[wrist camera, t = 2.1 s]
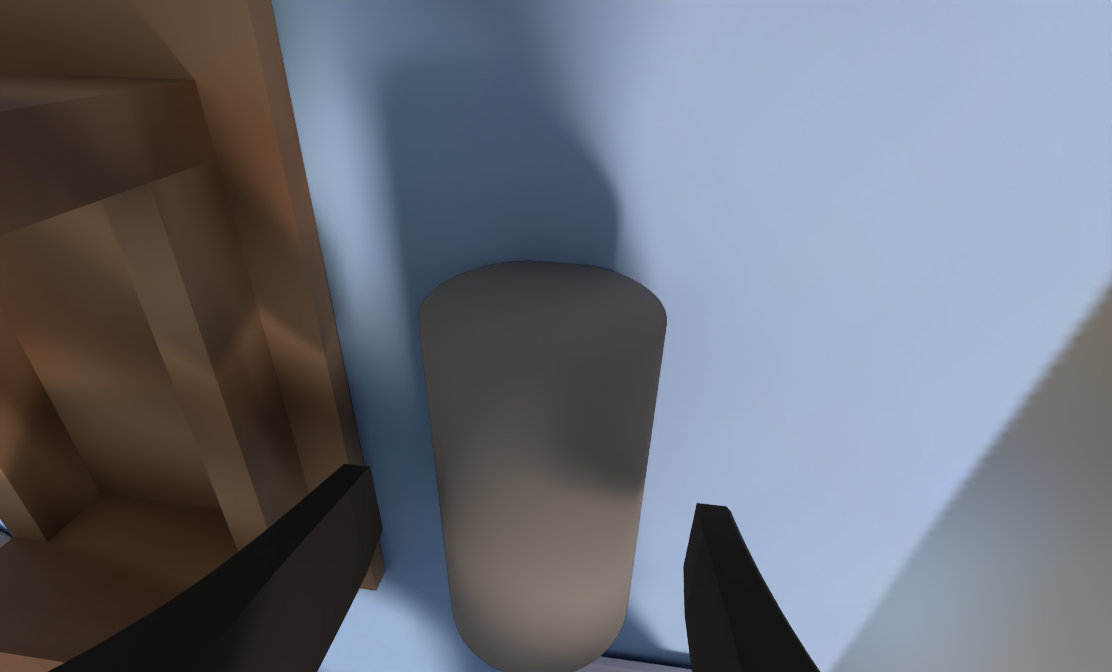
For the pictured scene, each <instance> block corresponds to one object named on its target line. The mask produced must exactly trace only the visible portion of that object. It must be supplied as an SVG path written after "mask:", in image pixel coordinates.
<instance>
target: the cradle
mask: <svg viewBox="0 0 1112 672" xmlns="http://www.w3.org/2000/svg"><path fill="white" fill-rule="evenodd" d="M343 464H351V465H360V466H364V463H363V458H362V453H361V448H360V443H359V438H358V433H357V428H356V423H355V418H354V413H353V408H352V403H351V398H350V393H349V388H348V383H347V378H346V373H345V368H344V363H343V358H342V353H341V348H340V343H339V338H338V333H337V328H336V323H335V318H334V313H333V308H332V303H331V298H330V293H329V289H328V284H327V279H326V274H325V269H324V264H323V259H322V254H321V249H320V244H319V239H318V234H317V229H316V224H315V219H314V214H313V209H312V204H311V199H310V194H309V189H308V184H307V179H306V174H305V169H304V164H303V159H302V154H301V149H300V144H299V139H298V134H297V129H296V124H295V119H294V114H293V109H292V104H291V99H290V94H289V89H288V85H287V80H286V75H285V70H284V65H283V60H282V55H281V50H280V45H279V40H278V35H277V30H276V25H275V20H274V15H273V10H272V5H271V0H0V519H1V521H2V522H3V524H4V525H5V526H6V528H7V529H8V531H9V532H10V534H11V535H12V537H13V538H11V539H10V540H9V541H8V542H7V543H5V544H4V545H3V546H2V547H1V548H0V672H48V671H50V670H52V669H53V668H55V667H57V666H59V665H61V664H63V663H65V662H67V661H69V660H70V659H72V658H74V657H76V656H78V655H80V654H81V653H83V652H85V651H87V650H89V649H91V648H92V647H94V646H96V645H98V644H99V643H101V642H103V641H105V640H106V639H108V638H110V637H111V636H113V635H115V634H116V633H118V632H120V631H121V630H123V629H125V628H126V627H128V626H130V625H131V624H133V623H135V622H136V621H138V620H140V619H141V618H143V617H145V616H146V615H148V614H150V613H151V612H153V611H155V610H156V609H158V608H159V607H161V606H162V605H164V604H165V603H167V602H168V601H170V600H171V599H173V598H174V597H176V596H177V595H179V594H181V593H182V592H184V591H185V590H187V589H188V588H190V587H191V586H192V585H194V584H195V583H197V582H198V581H200V580H201V579H202V578H204V577H205V576H207V575H208V574H209V573H211V572H212V571H214V570H215V569H216V568H218V567H219V566H220V565H222V564H223V563H224V562H225V561H227V560H228V559H229V558H231V557H232V556H233V555H235V554H236V553H237V552H239V551H240V550H241V549H242V548H244V547H245V546H246V545H248V544H249V543H250V542H252V541H253V540H254V539H255V538H257V537H258V536H259V535H260V534H262V533H263V532H264V531H265V530H266V529H268V528H269V527H270V526H271V525H272V524H274V523H275V522H276V521H277V520H278V519H280V518H281V517H282V516H283V515H284V514H286V513H287V512H288V511H289V510H290V509H292V508H293V507H294V506H295V505H296V504H298V503H299V502H300V501H301V500H302V499H303V498H305V497H306V496H307V495H308V494H309V493H310V492H311V491H313V490H314V489H315V488H316V487H317V486H318V485H320V484H321V483H322V482H323V481H324V480H325V479H327V478H328V477H329V476H330V475H331V474H332V473H334V472H335V471H336V470H337V469H339V468H340V467H341V466H342V465H343ZM384 573H385V567H384V562H383V557H382V552H381V547H380V542H379V541H378V544H377V547H376V550H375V553H374V555H373V558H372V561H371V563H370V566H369V569H368V571H367V574H366V576H365V578H364V580H363V582H362V584H361V586H360V588H361V589H368V590H377V588H378V586H379V584H380V582H381V579H382V577H383V575H384Z"/></svg>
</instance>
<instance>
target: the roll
mask: <svg viewBox="0 0 1112 672" xmlns="http://www.w3.org/2000/svg"><path fill="white" fill-rule="evenodd" d="M418 322H419V331H420V340H421V348H422V357H423V366H424V374H425V383H426V392H427V400H428V409H429V418H430V426H431V435H432V443H433V452H434V461H435V469H436V478H437V487H438V495H439V504H440V513H441V521H442V530H443V539H444V547H445V556H446V565H447V573H448V582H449V591H450V599H451V608H452V613H453V618H454V621H455V624H456V627H457V629H458V631H459V633H460V635H461V637H462V639H463V640H464V642H465V643H466V644H467V646H468V647H469V648H470V649H471V650H472V651H473V652H474V653H475V654H476V655H477V656H478V657H479V658H480V659H482V660H483V661H484V662H486V663H487V664H489V665H490V666H492V667H494V668H496V669H498V670H500V671H503V672H575V671H578V670H580V669H582V668H583V667H585V666H587V665H589V664H590V663H592V662H593V661H595V660H596V659H598V658H599V657H600V656H601V655H602V654H603V653H604V652H605V651H606V650H607V649H608V648H609V647H610V646H611V644H612V643H613V642H614V641H615V639H616V637H617V636H618V634H619V632H620V631H621V628H622V626H623V623H624V621H625V617H626V612H627V607H628V600H629V593H630V586H631V578H632V571H633V564H634V557H635V549H636V542H637V535H638V528H639V521H640V513H641V506H642V499H643V492H644V484H645V477H646V470H647V463H648V456H649V448H650V441H651V434H652V427H653V419H654V412H655V405H656V398H657V391H658V383H659V376H660V369H661V362H662V354H663V347H664V340H665V333H666V326H667V316H666V312H665V309H664V307H663V305H662V303H661V302H660V300H659V299H658V298H657V297H656V296H655V295H654V294H653V293H652V292H651V291H650V290H649V289H647V288H646V287H644V286H643V285H641V284H640V283H638V282H636V281H634V280H633V279H631V278H628V277H626V276H624V275H621V274H619V273H616V272H613V271H610V270H607V269H603V268H599V267H595V266H590V265H582V264H569V263H555V262H541V261H516V262H508V263H501V264H495V265H490V266H485V267H481V268H477V269H474V270H471V271H468V272H465V273H462V274H460V275H457V276H455V277H453V278H451V279H449V280H447V281H445V282H444V283H442V284H441V285H439V286H438V287H436V288H435V289H434V290H433V291H432V292H430V294H429V295H428V296H427V297H426V298H425V299H424V301H423V303H422V305H421V307H420V310H419V314H418Z"/></svg>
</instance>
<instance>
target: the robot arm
mask: <svg viewBox="0 0 1112 672" xmlns="http://www.w3.org/2000/svg"><path fill="white" fill-rule="evenodd" d="M382 530H383V529H382V524H381V519H380V514H379V509H378V504H377V499H376V494H375V489H374V484H373V479H372V474H371V469H370V467H369V466H360V465H351V464H343V465H342V466H341V467H340V468H339V469H337V470H336V471H335V472H334V473H332V474H331V475H330V476H329V477H328V478H327V479H325V480H324V481H323V482H322V483H321V484H320V485H318V486H317V487H316V488H315V489H314V490H313V491H311V492H310V493H309V494H308V495H307V496H306V497H305V498H303V499H302V500H301V501H300V502H299V503H298V504H296V505H295V506H294V507H293V508H292V509H290V510H289V511H288V512H287V513H286V514H284V515H283V516H282V517H281V518H280V519H278V520H277V521H276V522H275V523H274V524H272V525H271V526H270V527H269V528H268V529H266V530H265V531H264V532H263V533H262V534H260V535H259V536H258V537H257V538H255V539H254V540H253V541H252V542H250V543H249V544H248V545H246V546H245V547H244V548H242V549H241V550H240V551H239V552H237V553H236V554H235V555H233V556H232V557H231V558H229V559H228V560H227V561H225V562H224V563H223V564H222V565H220V566H219V567H218V568H216V569H215V570H214V571H212V572H211V573H209V574H208V575H207V576H205V577H204V578H202V579H201V580H200V581H198V582H197V583H195V584H194V585H192V586H191V587H190V588H188V589H187V590H185V591H184V592H182V593H181V594H179V595H177V596H176V597H174V598H173V599H171V600H170V601H168V602H167V603H165V604H164V605H162V606H161V607H159V608H158V609H156V610H155V611H153V612H151V613H150V614H148V615H146V616H145V617H143V618H141V619H140V620H138V621H136V622H135V623H133V624H131V625H130V626H128V627H126V628H125V629H123V630H121V631H120V632H118V633H116V634H115V635H113V636H111V637H110V638H108V639H106V640H105V641H103V642H101V643H99V644H98V645H96V646H94V647H92V648H91V649H89V650H87V651H85V652H83V653H81V654H80V655H78V656H76V657H74V658H72V659H70V660H69V661H67V662H65V663H63V664H61V665H59V666H57V667H55V668H53V669H52V670H50V671H48V672H317V671H318V669H319V667H320V665H321V663H322V661H323V659H324V658H325V656H326V654H327V652H328V650H329V648H330V646H331V644H332V642H333V640H334V638H335V636H336V634H337V632H338V630H339V628H340V626H341V624H342V622H343V620H344V618H345V616H346V614H347V612H348V610H349V608H350V606H351V604H352V602H353V600H354V598H355V596H356V594H357V592H358V590H359V588H360V586H361V584H362V582H363V580H364V578H365V576H366V574H367V571H368V569H369V566H370V563H371V561H372V558H373V555H374V553H375V550H376V547H377V544H378V541H379V538H380V535H381V533H382ZM684 606H685V621H686V629H687V637H688V645H689V653H690V660H691V668H692V669H686V668H679V667H672V666H665V665H658V664H651V663H644V662H637V661H630V660H623V659H616V658H609V657H602V656H600V657H599V658H598V659H596V660H595V661H593V662H592V663H590V664H589V665H587V666H585V667H583V668H582V669H580V670H578V671H575V672H820V671H819V669H818V668H817V666H816V665H815V663H814V662H813V660H812V659H811V657H810V656H809V654H808V653H807V651H806V650H805V648H804V647H803V645H802V643H801V642H800V640H799V639H798V637H797V636H796V634H795V632H794V631H793V629H792V628H791V626H790V624H789V623H788V621H787V619H786V618H785V616H784V614H783V613H782V611H781V609H780V608H779V606H778V604H777V602H776V600H775V599H774V597H773V595H772V593H771V592H770V590H769V588H768V586H767V585H766V583H765V581H764V579H763V577H762V575H761V574H760V572H759V570H758V568H757V566H756V564H755V562H754V560H753V558H752V556H751V554H750V552H749V550H748V548H747V546H746V544H745V542H744V540H743V538H742V536H741V534H740V532H739V529H738V527H737V525H736V523H735V520H734V518H733V516H732V513H731V511H730V510H729V509H728V508H727V507H726V506H718V505H709V504H700V503H697V505H696V509H695V514H694V519H693V524H692V529H691V533H690V538H689V543H688V548H687V552H686V557H685V562H684Z"/></svg>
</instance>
